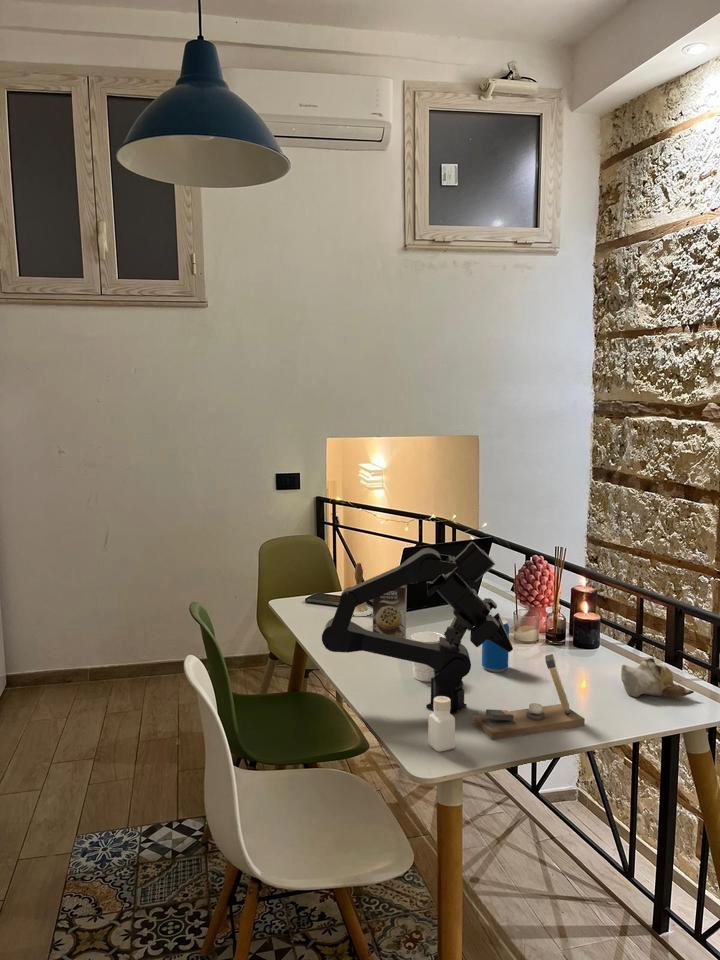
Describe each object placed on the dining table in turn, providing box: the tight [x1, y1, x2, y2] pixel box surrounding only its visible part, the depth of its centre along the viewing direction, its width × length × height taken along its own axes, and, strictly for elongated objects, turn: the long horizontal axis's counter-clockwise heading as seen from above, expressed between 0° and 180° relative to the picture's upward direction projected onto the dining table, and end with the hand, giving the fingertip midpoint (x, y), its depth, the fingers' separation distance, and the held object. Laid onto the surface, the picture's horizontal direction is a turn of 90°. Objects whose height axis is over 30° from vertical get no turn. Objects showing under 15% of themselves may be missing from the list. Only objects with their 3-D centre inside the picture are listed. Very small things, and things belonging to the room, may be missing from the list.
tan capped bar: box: [545, 653, 571, 715], centre depth 154 cm, size 2×4×12 cm, turn 168°
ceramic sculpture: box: [620, 657, 695, 698], centre depth 168 cm, size 11×9×15 cm
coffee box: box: [372, 584, 408, 639], centre depth 205 cm, size 9×6×16 cm
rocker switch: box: [484, 708, 514, 720], centre depth 149 cm, size 3×5×1 cm, turn 108°
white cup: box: [410, 631, 445, 683], centre depth 178 cm, size 8×8×10 cm
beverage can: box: [481, 618, 510, 673], centre depth 184 cm, size 6×6×12 cm
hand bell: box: [354, 562, 369, 612], centre depth 232 cm, size 8×8×16 cm
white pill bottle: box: [427, 696, 456, 753], centre depth 141 cm, size 4×4×10 cm
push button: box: [528, 702, 543, 714], centre depth 152 cm, size 3×3×1 cm
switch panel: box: [473, 703, 586, 741], centre depth 152 cm, size 8×21×2 cm, turn 108°
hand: (511, 650), depth 157 cm, fingers closed
